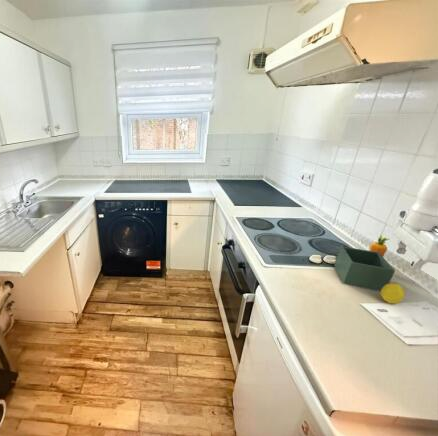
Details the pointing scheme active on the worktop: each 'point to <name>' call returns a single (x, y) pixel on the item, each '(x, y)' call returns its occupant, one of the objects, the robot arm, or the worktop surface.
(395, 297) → the lemon
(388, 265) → the bin
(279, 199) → the worktop surface
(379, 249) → the carrot
